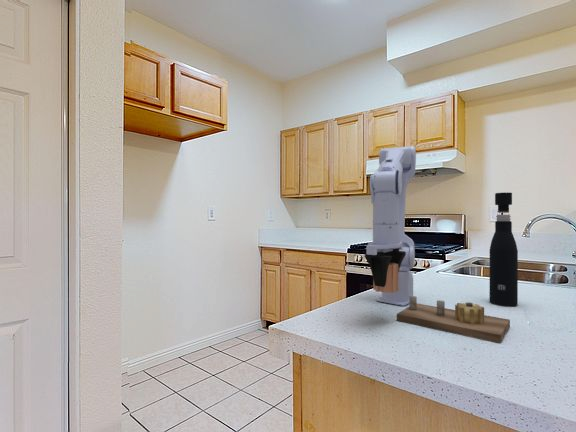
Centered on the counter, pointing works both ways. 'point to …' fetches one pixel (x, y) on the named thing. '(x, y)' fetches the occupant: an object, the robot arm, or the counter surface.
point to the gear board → (456, 319)
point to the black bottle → (503, 257)
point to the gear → (389, 280)
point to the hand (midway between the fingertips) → (385, 284)
